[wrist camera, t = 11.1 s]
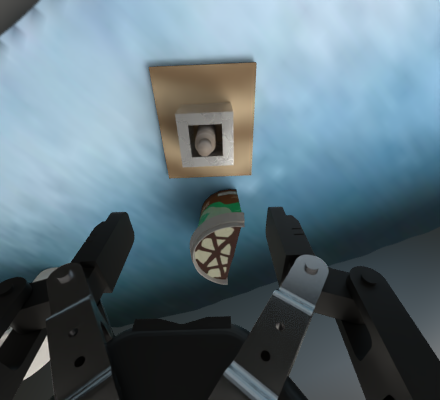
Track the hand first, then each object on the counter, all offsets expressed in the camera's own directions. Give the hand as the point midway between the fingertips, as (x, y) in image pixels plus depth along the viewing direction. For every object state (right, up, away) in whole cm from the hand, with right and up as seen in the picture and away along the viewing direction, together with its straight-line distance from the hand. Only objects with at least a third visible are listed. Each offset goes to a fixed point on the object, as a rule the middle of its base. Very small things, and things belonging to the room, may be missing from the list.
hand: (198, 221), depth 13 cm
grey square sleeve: (0, +10, +16) cm, 19 cm away
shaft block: (0, +11, +17) cm, 20 cm away
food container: (0, 0, +25) cm, 25 cm away
